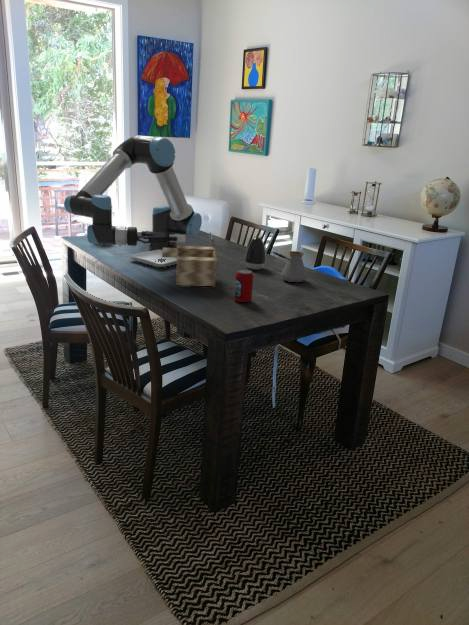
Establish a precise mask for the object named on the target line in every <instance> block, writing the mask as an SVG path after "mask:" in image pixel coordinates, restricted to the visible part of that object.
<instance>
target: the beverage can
mask: <svg viewBox="0 0 469 625" xmlns="http://www.w3.org/2000/svg"><path fill="white" fill-rule="evenodd" d="M253 284H254V274H253V271H252V270H251V269H247V268H246V269H244V268H243V269H238V270H237V272H236V274H235V280H234V292H233V294H234V295H233V300H235V302H237V301H238V302H237V303H239V302H248V303H249V302H252V296H253Z"/></svg>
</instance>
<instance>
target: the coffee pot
mask: <svg viewBox="0 0 469 625" xmlns="http://www.w3.org/2000/svg"><path fill="white" fill-rule="evenodd" d="M288 253H289V257H287V256H285V255H283V254H281V253H278V252H277V251H273V252H271V254H274V255H273V257H275V256H278V258H282V259H283V260H287V262H286V264H285V265H284V268H283V269H282V271H281V273H280V274H281V277H282V279H284V281H285V280H286V281H288V282H287V283H289V282H301V283H302V282H304V281H305V280H306V279H307V277H308V275H307V272H306V268H305V265H304V262H303V256H304V252H302V251H297V250H296V251H294V250H293V251H292V250H291V251H289V252H288ZM286 281H285V282H286Z"/></svg>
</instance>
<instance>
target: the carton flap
mask: <svg viewBox="0 0 469 625" xmlns="http://www.w3.org/2000/svg"><path fill="white" fill-rule="evenodd" d="M209 236H210V240H211V244H212V247H214V252H215V256H216V258H217V259H218V258H219V256H218V253H217V248H216V245H215V242H214V238H213V235H212V232H211V231H210V232H209Z"/></svg>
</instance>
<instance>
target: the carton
mask: <svg viewBox="0 0 469 625" xmlns="http://www.w3.org/2000/svg"><path fill="white" fill-rule="evenodd" d="M162 257H173V258H177V265H176V266H175V267H176V268H175V269H176V273H175V274H176V275H175V277H176V278H175V282H176V283H175V284H176V285H188V286H187V287H190V286H214V287H213V288H216V277H217V276H216V275H217V263H219V262H218V258H216V254H215V251H214V247H213V246H198V245H197V246H196V245H178V246H177V248H163V251H162ZM176 285H175V286H176Z"/></svg>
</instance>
